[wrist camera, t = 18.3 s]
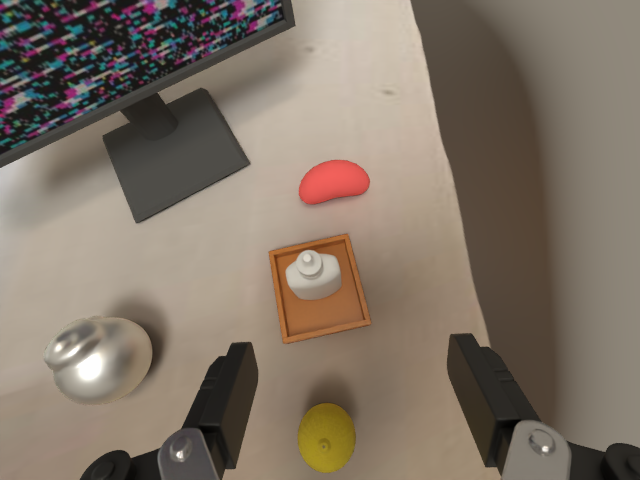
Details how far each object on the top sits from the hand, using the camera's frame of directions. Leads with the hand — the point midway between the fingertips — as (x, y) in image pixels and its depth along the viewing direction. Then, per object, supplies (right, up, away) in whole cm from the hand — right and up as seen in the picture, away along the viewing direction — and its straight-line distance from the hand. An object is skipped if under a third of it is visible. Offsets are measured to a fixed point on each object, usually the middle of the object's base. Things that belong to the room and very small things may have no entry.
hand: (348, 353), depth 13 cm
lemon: (0, -16, +21) cm, 26 cm away
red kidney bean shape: (+1, +11, +31) cm, 33 cm away
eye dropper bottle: (-1, -1, +26) cm, 26 cm away
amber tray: (-1, -2, +26) cm, 26 cm away
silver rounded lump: (-24, -10, +25) cm, 36 cm away
